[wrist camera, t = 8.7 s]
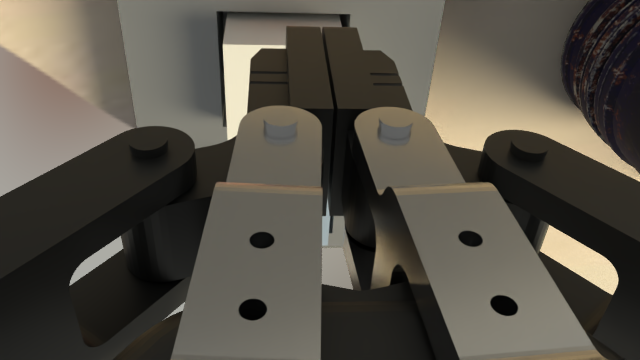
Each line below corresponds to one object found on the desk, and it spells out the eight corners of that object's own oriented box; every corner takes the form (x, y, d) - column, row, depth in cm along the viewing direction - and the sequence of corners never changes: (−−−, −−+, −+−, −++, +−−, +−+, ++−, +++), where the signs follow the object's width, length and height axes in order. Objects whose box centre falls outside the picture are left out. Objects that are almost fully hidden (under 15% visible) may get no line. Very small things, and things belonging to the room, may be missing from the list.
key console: (453, -209, 25) (481, -201, 21) (390, 203, 38) (401, 246, 35) (107, -229, 23) (82, -222, 20) (165, 204, 37) (155, 249, 33)
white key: (338, 14, 27) (346, 46, 24) (331, 110, 30) (338, 148, 27) (227, 11, 27) (222, 44, 24) (231, 109, 30) (227, 148, 27)
